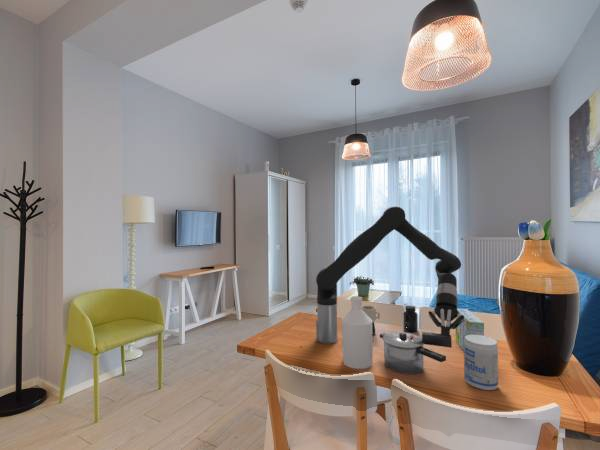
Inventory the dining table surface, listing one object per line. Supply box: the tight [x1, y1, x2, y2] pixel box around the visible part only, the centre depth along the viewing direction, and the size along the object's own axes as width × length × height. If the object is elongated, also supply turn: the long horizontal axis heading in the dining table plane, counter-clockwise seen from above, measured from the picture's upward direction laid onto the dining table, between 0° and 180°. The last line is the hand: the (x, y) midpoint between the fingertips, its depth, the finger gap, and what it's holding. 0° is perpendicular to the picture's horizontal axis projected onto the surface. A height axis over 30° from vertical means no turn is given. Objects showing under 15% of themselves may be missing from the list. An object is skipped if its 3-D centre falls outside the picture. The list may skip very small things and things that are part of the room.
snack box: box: [455, 308, 485, 352], centre depth 123 cm, size 21×6×15 cm, turn 166°
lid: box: [382, 331, 452, 349], centre depth 108 cm, size 24×15×4 cm, turn 68°
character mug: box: [362, 304, 381, 335], centre depth 144 cm, size 11×7×13 cm, turn 61°
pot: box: [379, 332, 447, 375], centre depth 108 cm, size 27×14×9 cm, turn 32°
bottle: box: [341, 295, 373, 370], centre depth 113 cm, size 12×12×25 cm
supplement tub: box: [463, 335, 499, 391], centre depth 96 cm, size 10×10×15 cm
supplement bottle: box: [402, 305, 419, 333], centre depth 148 cm, size 7×7×12 cm
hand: (445, 337), depth 107 cm, fingers closed
